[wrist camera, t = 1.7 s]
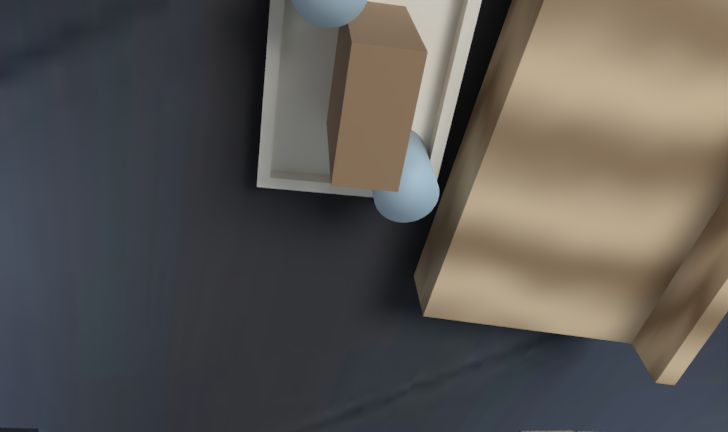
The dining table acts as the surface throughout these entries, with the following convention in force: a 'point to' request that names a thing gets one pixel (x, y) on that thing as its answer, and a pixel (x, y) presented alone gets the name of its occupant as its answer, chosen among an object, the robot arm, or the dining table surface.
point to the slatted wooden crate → (593, 180)
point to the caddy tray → (310, 83)
